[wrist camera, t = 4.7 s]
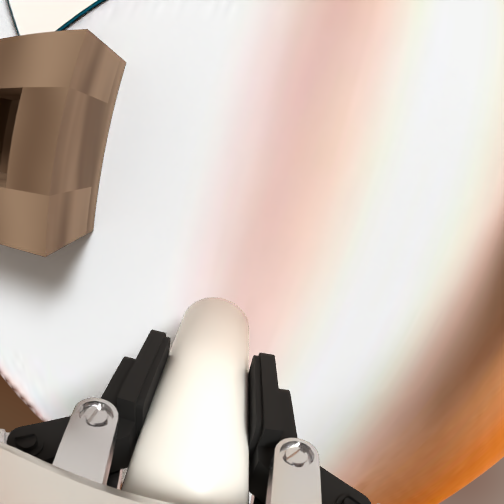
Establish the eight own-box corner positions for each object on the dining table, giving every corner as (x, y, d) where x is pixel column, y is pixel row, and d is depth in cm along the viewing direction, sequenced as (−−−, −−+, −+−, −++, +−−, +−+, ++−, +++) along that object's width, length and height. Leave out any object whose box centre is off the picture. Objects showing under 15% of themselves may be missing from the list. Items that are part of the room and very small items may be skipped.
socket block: (126, 62, 15) (87, 29, 9) (93, 230, 17) (45, 256, 12) (4, 65, 14) (-46, 49, 8) (-20, 205, 16) (-72, 221, 11)
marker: (256, 304, 15) (270, 580, 3) (241, 361, 16) (235, 601, 4) (186, 289, 15) (83, 546, 3) (177, 348, 15) (106, 577, 4)
